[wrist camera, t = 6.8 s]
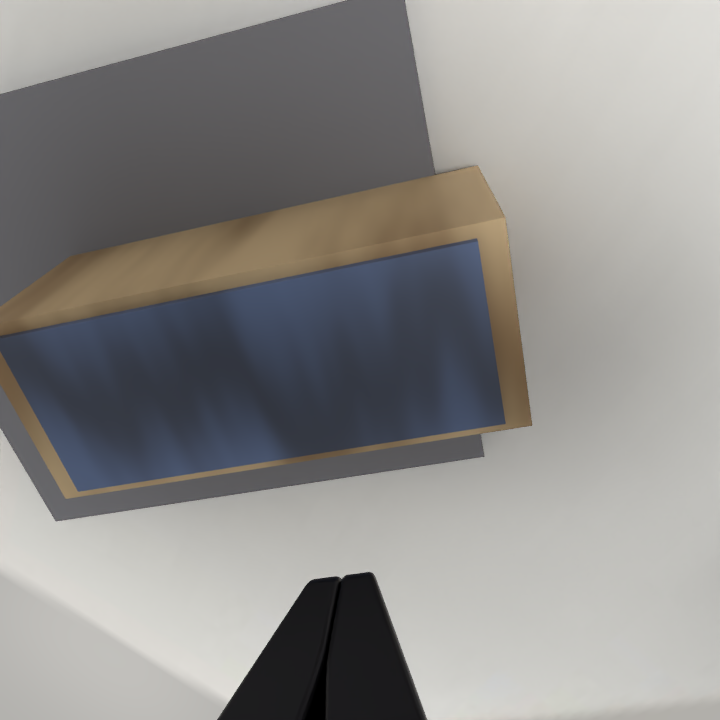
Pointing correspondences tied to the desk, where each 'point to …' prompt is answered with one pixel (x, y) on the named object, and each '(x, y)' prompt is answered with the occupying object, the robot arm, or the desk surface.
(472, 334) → the oak block
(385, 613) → the robot arm
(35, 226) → the mat
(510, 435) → the desk surface
